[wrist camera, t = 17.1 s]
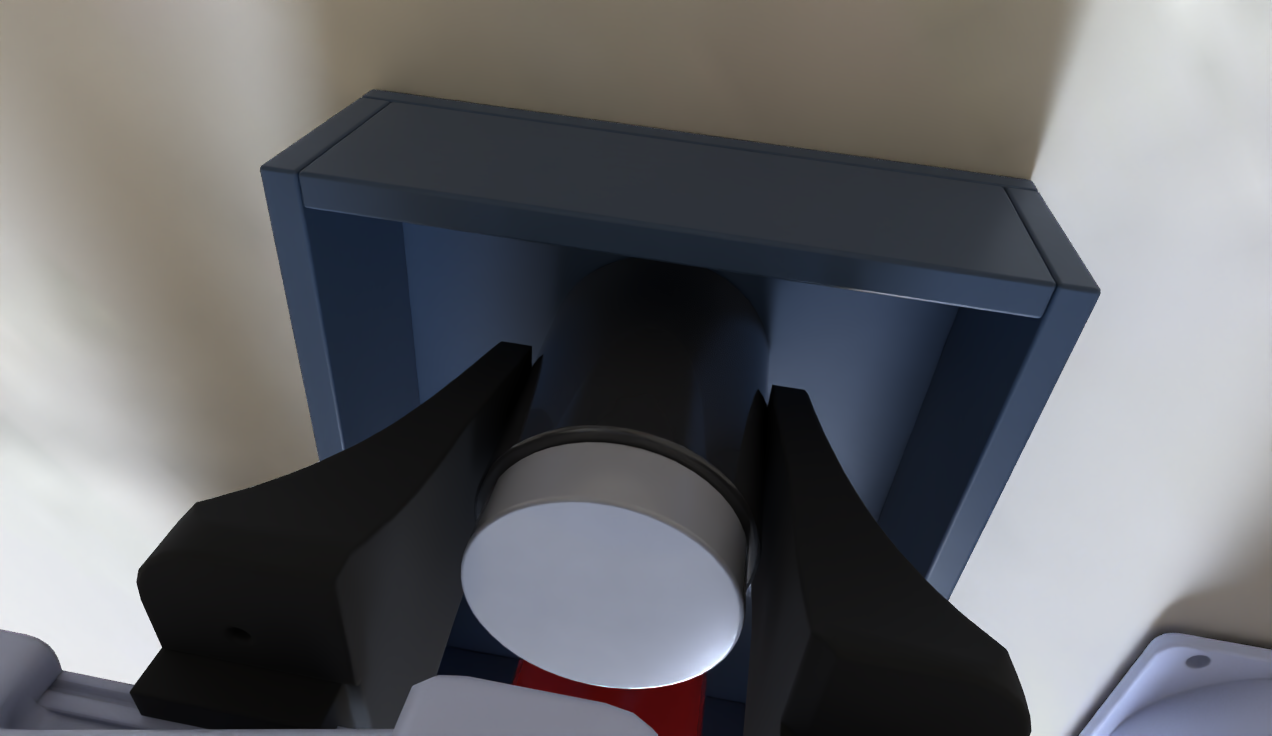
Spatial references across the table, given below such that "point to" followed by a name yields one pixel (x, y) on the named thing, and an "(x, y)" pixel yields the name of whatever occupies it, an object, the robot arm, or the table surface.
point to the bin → (695, 236)
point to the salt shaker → (631, 699)
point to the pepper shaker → (628, 482)
